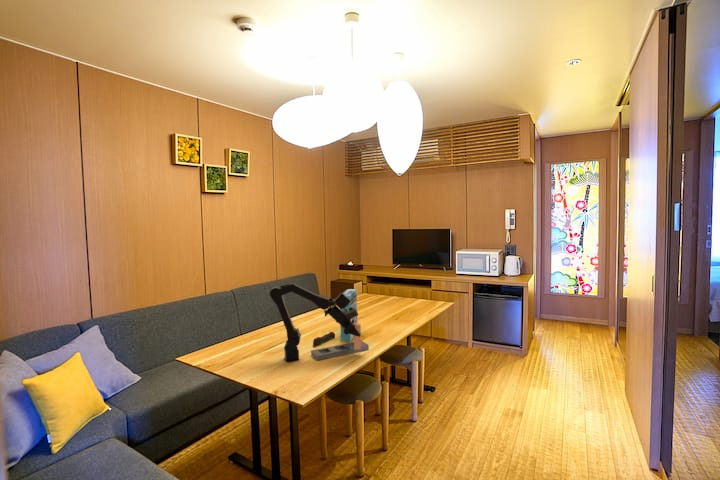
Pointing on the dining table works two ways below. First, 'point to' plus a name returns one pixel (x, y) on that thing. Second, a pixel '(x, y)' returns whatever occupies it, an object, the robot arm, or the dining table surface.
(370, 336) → the dining table surface
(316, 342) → the hand tool
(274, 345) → the dining table surface
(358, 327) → the peg
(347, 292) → the game box
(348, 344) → the rail
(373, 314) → the dining table surface
